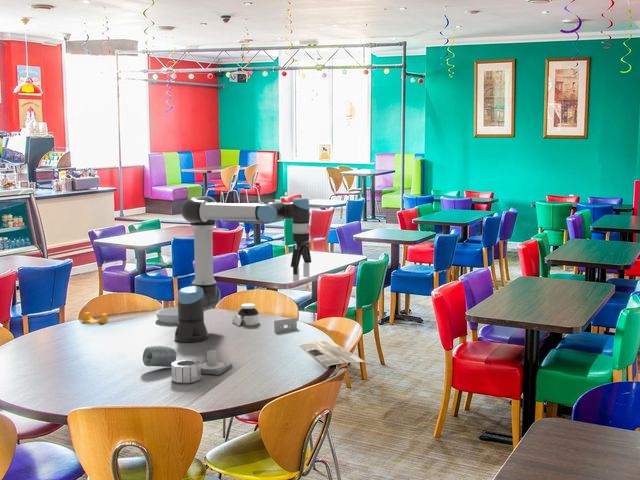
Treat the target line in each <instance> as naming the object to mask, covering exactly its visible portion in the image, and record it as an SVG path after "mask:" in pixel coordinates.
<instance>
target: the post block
mask: <svg viewBox="0 0 640 480" xmlns="http://www.w3.org/2000/svg"><path fill="white" fill-rule="evenodd" d="M200 363H201V374H204V375H205V374H206V375H217V376H220V375H222V374H223V373H224V372H227V371H228V370H229V369H231V368H233V363H232V362H221V361H218V350H216V349H210V350H209V349H208V350H206V360H205V361H202V362H200Z"/></svg>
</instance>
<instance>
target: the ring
mask: <svg viewBox="0 0 640 480" xmlns="http://www.w3.org/2000/svg"><path fill="white" fill-rule="evenodd" d="M201 363H202V362H201V361H200V360H197V359H189V358H187V359H179V360H176V361H174V362H172V363H171V367H170V368H171V381H173V382H175V383H183V384H184V383H185V384H187V383H194V382H198V381H199V380H201V379H202V373H201Z"/></svg>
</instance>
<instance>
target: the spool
mask: <svg viewBox="0 0 640 480" xmlns="http://www.w3.org/2000/svg"><path fill="white" fill-rule="evenodd" d="M177 356H178V355H177V350H176V349H175V348H173V347H170V346H163V345H154V346H152V345H150V346H147V347H145V349H144V350H143V353H142V362H143V365H144V366H145V367H166V368H171V363H172V362H174V361H177Z"/></svg>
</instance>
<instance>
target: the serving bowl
mask: <svg viewBox="0 0 640 480" xmlns="http://www.w3.org/2000/svg"><path fill="white" fill-rule="evenodd" d="M155 314H156V318H157V320H158V321H159V322H160V323H163V324H170V325H171V324H173V325H174V324H175V325H176V324H177V325H178V306H173V307H166V308H162V309H159V310H157V311H155Z"/></svg>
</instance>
